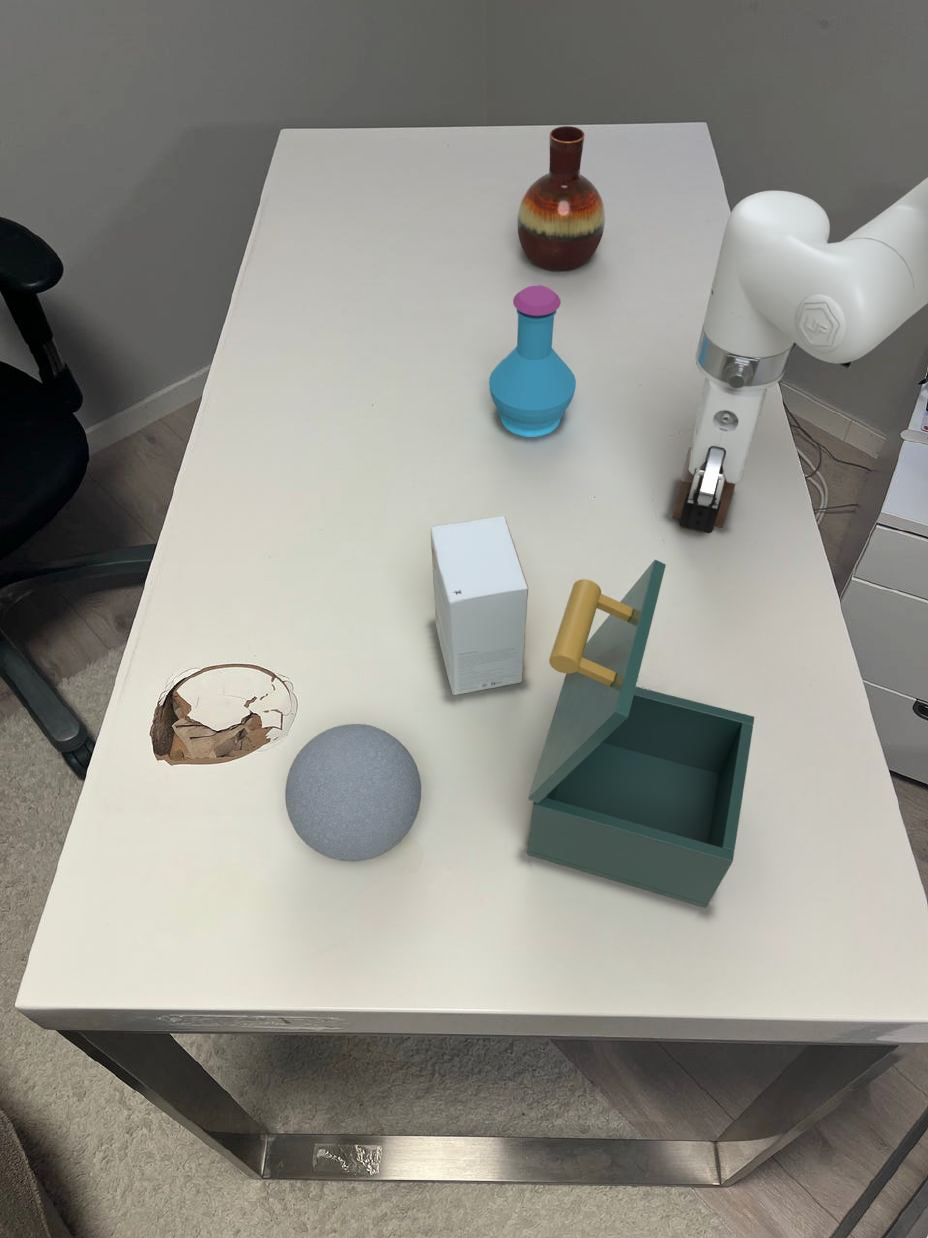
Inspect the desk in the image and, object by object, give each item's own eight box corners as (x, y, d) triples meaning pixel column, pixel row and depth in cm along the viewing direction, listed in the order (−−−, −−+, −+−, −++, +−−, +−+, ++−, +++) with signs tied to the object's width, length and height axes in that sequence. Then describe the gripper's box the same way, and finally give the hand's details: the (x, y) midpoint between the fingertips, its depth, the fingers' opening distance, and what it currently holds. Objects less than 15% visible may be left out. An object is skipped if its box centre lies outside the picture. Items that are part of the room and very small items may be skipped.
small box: (523, 684, 78) (530, 589, 68) (452, 697, 77) (447, 603, 67) (502, 611, 83) (505, 513, 72) (434, 623, 82) (427, 525, 72)
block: (729, 493, 92) (740, 456, 88) (722, 527, 89) (733, 491, 85) (680, 483, 93) (689, 446, 89) (672, 517, 90) (680, 480, 86)
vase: (498, 253, 119) (500, 132, 106) (558, 223, 123) (567, 103, 111) (558, 289, 114) (567, 166, 101) (618, 256, 118) (634, 134, 106)
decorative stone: (447, 841, 69) (443, 782, 61) (330, 906, 67) (309, 853, 59) (388, 743, 75) (377, 677, 67) (277, 799, 72) (251, 737, 64)
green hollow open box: (728, 772, 73) (754, 716, 66) (706, 908, 66) (732, 862, 59) (564, 728, 75) (573, 670, 68) (527, 855, 69) (532, 804, 62)
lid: (666, 564, 56) (597, 532, 56) (628, 717, 50) (549, 682, 49) (578, 669, 68) (520, 643, 68) (538, 804, 61) (474, 775, 61)
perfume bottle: (568, 388, 102) (580, 267, 90) (576, 444, 96) (589, 322, 84) (487, 390, 102) (488, 269, 90) (490, 446, 96) (491, 325, 84)
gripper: (777, 423, 70) (729, 565, 84) (799, 298, 80) (752, 444, 94) (681, 404, 72) (649, 547, 85) (714, 284, 81) (680, 430, 95)
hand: (703, 493), depth 89 cm, fingers open, 9 cm apart
